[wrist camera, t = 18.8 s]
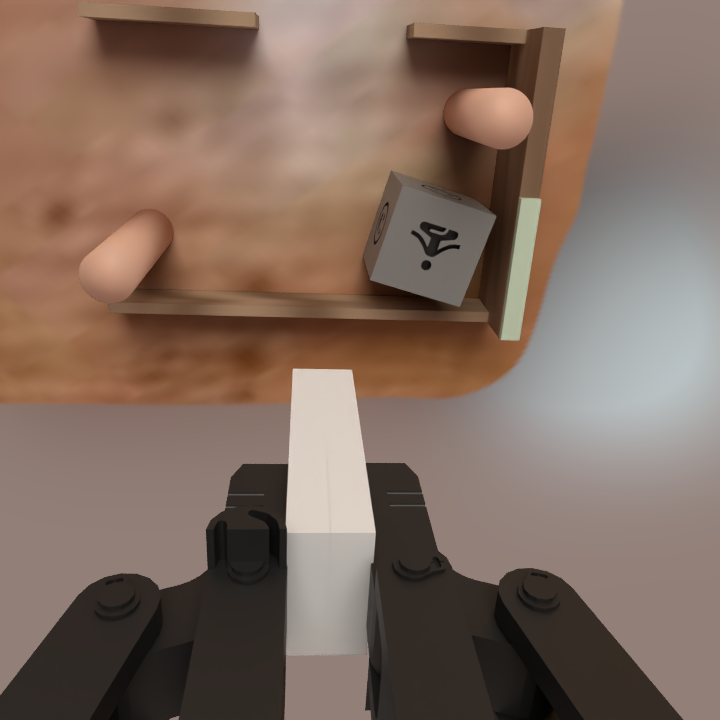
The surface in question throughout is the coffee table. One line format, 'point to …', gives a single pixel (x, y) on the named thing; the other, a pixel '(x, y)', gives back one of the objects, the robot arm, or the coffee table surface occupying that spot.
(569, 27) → the coffee table surface
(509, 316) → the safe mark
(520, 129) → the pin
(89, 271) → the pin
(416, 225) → the dice cube
